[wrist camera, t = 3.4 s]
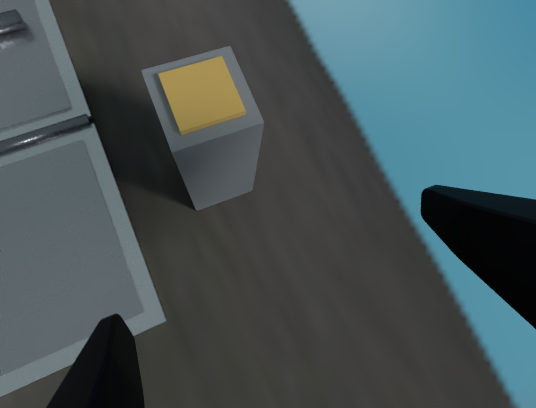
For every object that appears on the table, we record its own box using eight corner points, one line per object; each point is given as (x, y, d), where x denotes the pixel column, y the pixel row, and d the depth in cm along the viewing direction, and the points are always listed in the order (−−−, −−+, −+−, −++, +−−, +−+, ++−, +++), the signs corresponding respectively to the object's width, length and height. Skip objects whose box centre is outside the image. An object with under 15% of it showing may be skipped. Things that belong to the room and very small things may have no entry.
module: (252, 190, 24) (264, 118, 14) (196, 211, 23) (170, 149, 13) (231, 140, 24) (230, 41, 15) (176, 158, 24) (139, 65, 14)
